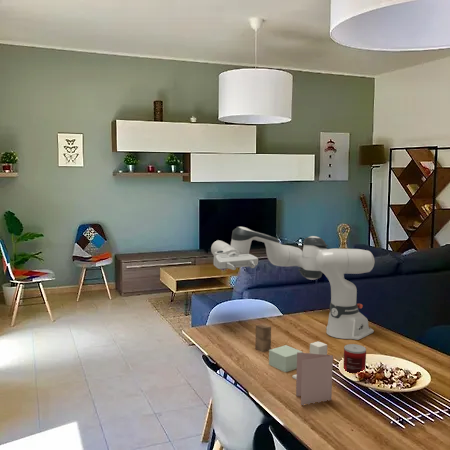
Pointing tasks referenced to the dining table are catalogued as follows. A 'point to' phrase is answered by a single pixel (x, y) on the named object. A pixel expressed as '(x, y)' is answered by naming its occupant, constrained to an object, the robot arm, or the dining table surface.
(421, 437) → the dining table surface
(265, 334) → the walnut post
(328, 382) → the greeting card
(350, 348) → the canned food
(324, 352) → the offwhite post
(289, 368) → the sage block
